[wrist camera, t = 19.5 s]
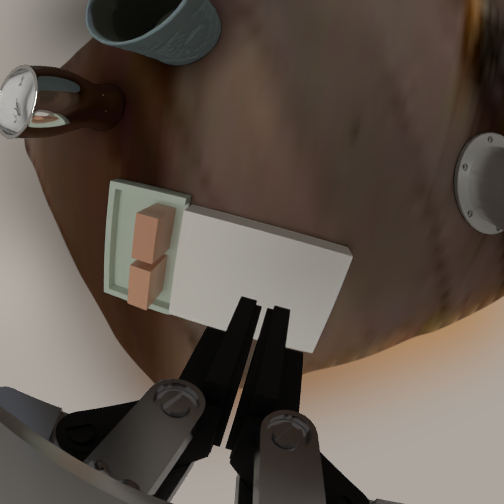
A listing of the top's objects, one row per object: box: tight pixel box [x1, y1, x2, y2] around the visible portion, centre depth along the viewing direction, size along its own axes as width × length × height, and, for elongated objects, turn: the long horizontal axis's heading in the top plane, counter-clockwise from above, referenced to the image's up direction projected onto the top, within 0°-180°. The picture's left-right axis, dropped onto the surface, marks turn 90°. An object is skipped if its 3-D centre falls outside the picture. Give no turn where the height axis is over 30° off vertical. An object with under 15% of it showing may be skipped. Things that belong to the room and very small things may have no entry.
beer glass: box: [0, 65, 125, 139], centre depth 23 cm, size 7×7×15 cm
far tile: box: [127, 254, 168, 310], centre depth 34 cm, size 5×5×2 cm
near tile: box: [131, 203, 176, 264], centre depth 32 cm, size 5×5×2 cm
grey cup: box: [85, 0, 221, 66], centre depth 21 cm, size 10×10×12 cm
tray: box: [104, 178, 192, 315], centre depth 35 cm, size 10×15×2 cm, turn 166°
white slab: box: [169, 205, 353, 353], centre depth 34 cm, size 18×13×3 cm
